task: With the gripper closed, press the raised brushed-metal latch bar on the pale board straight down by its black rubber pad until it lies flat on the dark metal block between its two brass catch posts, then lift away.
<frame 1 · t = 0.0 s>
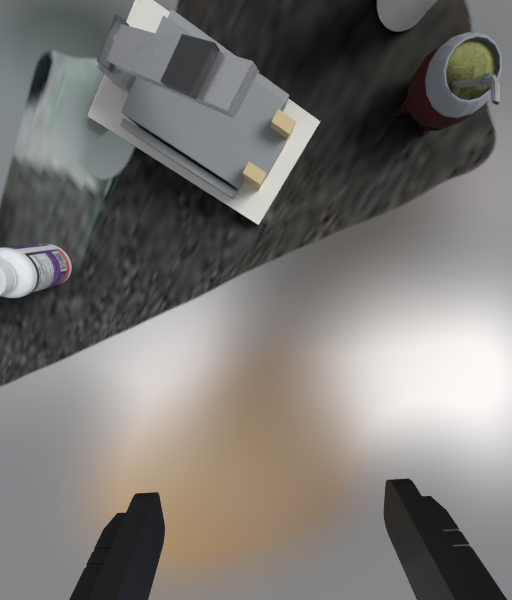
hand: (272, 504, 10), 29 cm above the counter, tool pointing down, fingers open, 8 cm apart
latch bar: (163, 61, 22), point 11 cm above the counter, hinge at 35.0°
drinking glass: (398, 6, 31), on the counter
mate gourd: (418, 110, 33), on the counter
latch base: (206, 123, 33), on the counter
pill bottle: (53, 264, 37), on the counter
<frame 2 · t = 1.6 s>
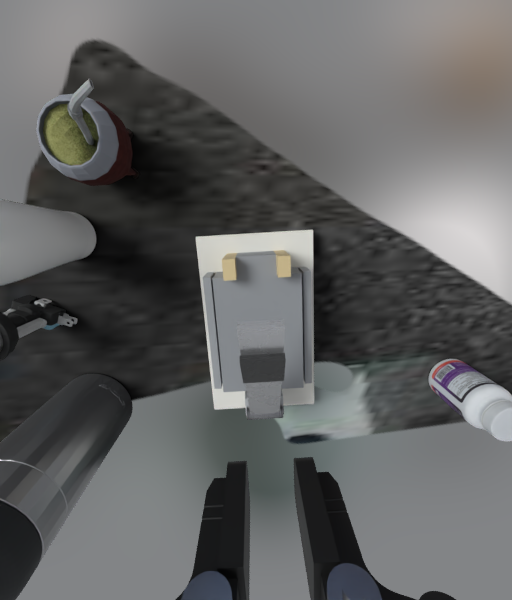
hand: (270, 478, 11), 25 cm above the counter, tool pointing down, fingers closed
latch bar: (263, 382, 26), point 11 cm above the counter, hinge at 35.0°
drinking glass: (76, 235, 33), on the counter
mate gourd: (119, 154, 31), on the counter
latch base: (259, 323, 36), on the counter
push button: (53, 311, 35), on the counter
pill bottle: (446, 375, 38), on the counter
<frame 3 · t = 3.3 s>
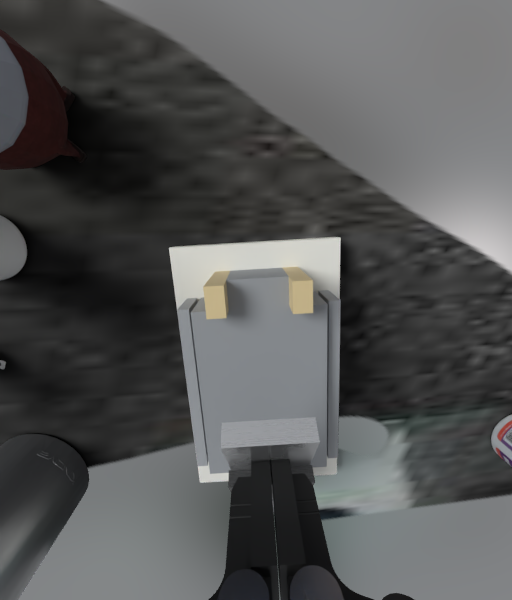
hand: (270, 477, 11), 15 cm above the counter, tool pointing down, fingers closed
latch bar: (270, 485, 16), point 11 cm above the counter, hinge at 33.9°, touching gripper
mate gourd: (56, 127, 21), on the counter
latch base: (261, 365, 26), on the counter
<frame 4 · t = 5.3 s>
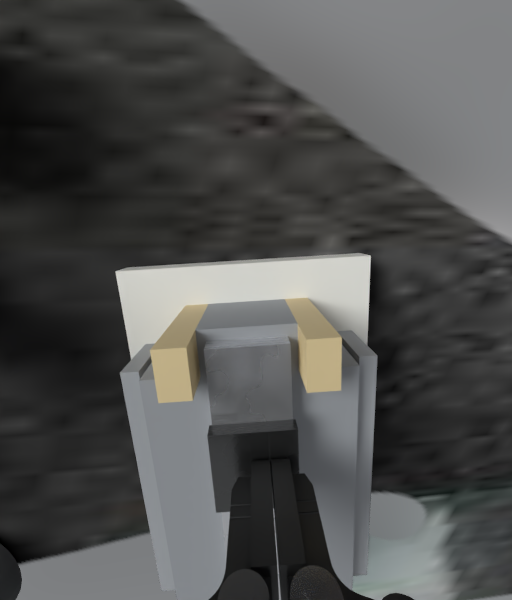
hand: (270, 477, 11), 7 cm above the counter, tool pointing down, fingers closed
latch bar: (260, 528, 13), point 6 cm above the counter, hinge at -0.4°, touching gripper, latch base
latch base: (255, 429, 19), on the counter
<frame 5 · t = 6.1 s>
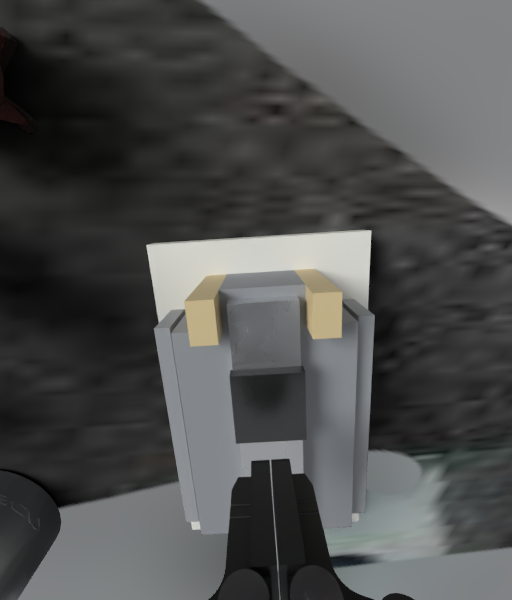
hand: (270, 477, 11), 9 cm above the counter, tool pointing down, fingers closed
latch bar: (272, 462, 15), point 6 cm above the counter, hinge at -0.4°, touching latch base
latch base: (267, 390, 21), on the counter
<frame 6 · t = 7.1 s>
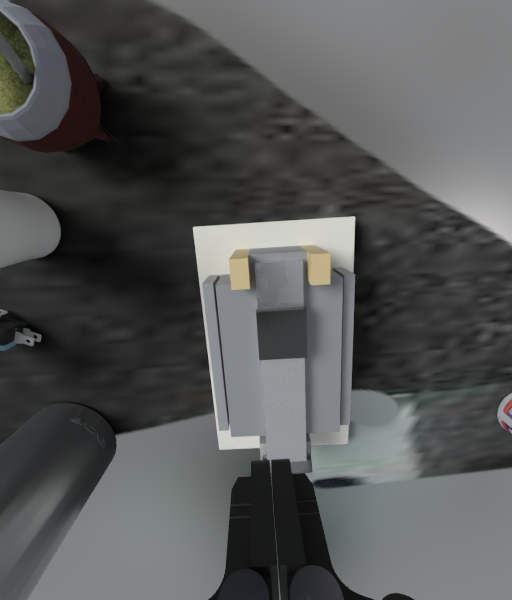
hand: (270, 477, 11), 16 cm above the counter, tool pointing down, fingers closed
latch bar: (283, 378, 22), point 6 cm above the counter, hinge at -0.4°, touching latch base
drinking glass: (35, 226, 25), on the counter
mate gourd: (87, 113, 22), on the counter
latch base: (277, 340, 27), on the counter
push button: (11, 324, 27), on the counter
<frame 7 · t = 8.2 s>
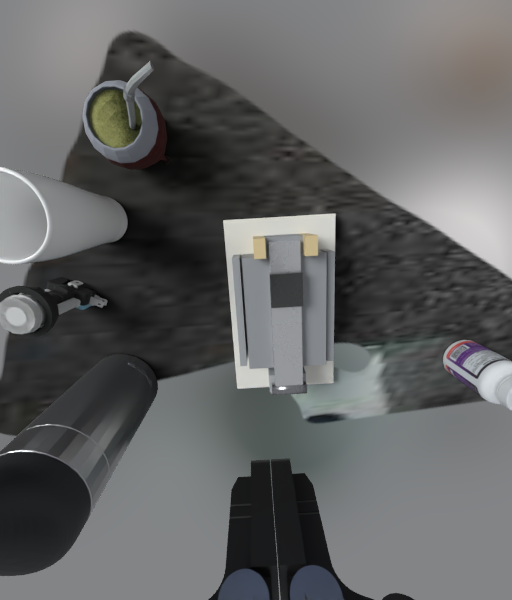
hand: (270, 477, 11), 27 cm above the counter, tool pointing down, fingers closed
latch bar: (286, 323, 32), point 6 cm above the counter, hinge at -0.4°, touching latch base
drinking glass: (108, 219, 35), on the counter
mate gourd: (151, 141, 33), on the counter
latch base: (281, 304, 37), on the counter
push button: (84, 293, 37), on the counter
pill bottle: (459, 355, 40), on the counter
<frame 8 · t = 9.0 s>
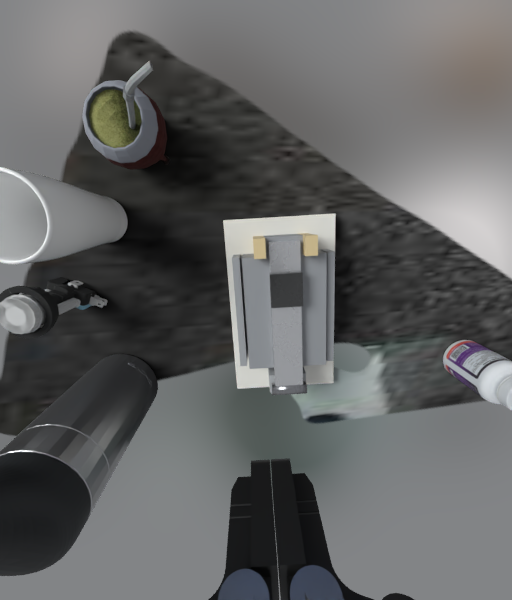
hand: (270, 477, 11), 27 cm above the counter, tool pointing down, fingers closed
latch bar: (286, 323, 32), point 6 cm above the counter, hinge at -0.4°, touching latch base
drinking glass: (108, 219, 35), on the counter
mate gourd: (151, 141, 33), on the counter
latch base: (281, 304, 37), on the counter
push button: (84, 293, 37), on the counter
pill bottle: (459, 355, 40), on the counter
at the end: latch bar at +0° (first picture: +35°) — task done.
